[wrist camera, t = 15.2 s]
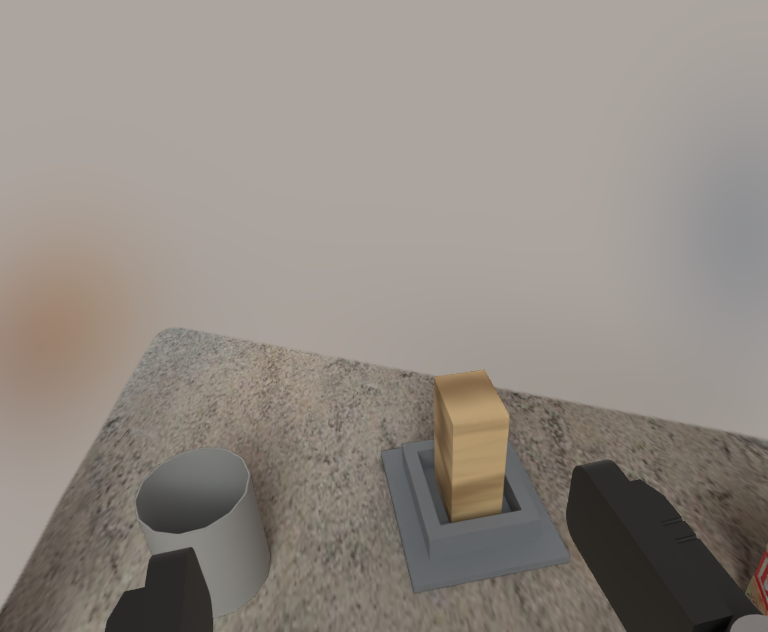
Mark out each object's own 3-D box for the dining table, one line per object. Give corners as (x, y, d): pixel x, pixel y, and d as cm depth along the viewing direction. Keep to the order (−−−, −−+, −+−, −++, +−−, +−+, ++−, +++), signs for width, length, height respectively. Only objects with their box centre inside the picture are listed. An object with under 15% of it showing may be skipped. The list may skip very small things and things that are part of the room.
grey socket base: (568, 562, 46) (574, 536, 45) (413, 593, 45) (412, 567, 43) (504, 436, 59) (506, 412, 57) (381, 456, 57) (379, 432, 56)
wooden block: (500, 520, 49) (509, 416, 43) (451, 529, 49) (453, 425, 42) (479, 469, 54) (484, 369, 48) (434, 477, 54) (433, 376, 47)
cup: (262, 615, 44) (238, 531, 39) (155, 623, 44) (117, 540, 39) (275, 524, 51) (256, 443, 46) (183, 531, 51) (154, 450, 46)
